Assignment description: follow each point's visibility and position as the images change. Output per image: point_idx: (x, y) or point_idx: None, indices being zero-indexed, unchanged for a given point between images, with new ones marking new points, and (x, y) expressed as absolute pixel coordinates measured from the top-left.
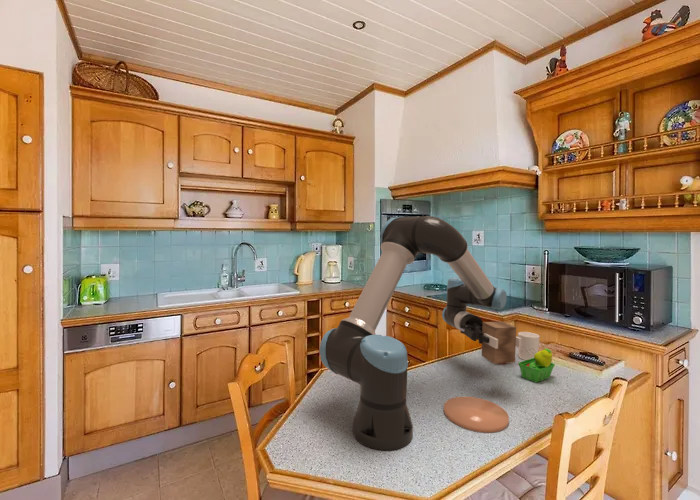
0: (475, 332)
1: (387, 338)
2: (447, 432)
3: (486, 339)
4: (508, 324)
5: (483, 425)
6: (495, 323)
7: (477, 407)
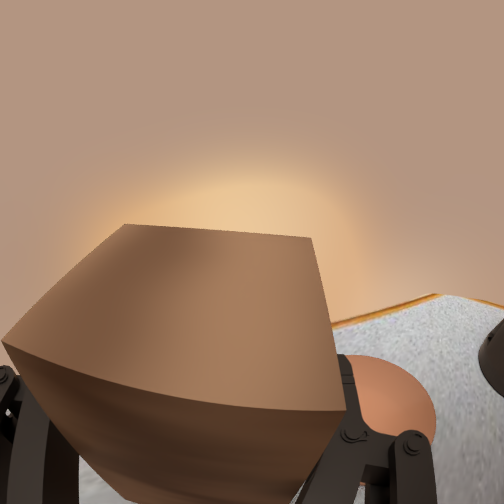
0: (399, 462)
1: None
2: (431, 368)
3: (341, 361)
4: (86, 264)
5: (370, 362)
6: (178, 316)
7: None
